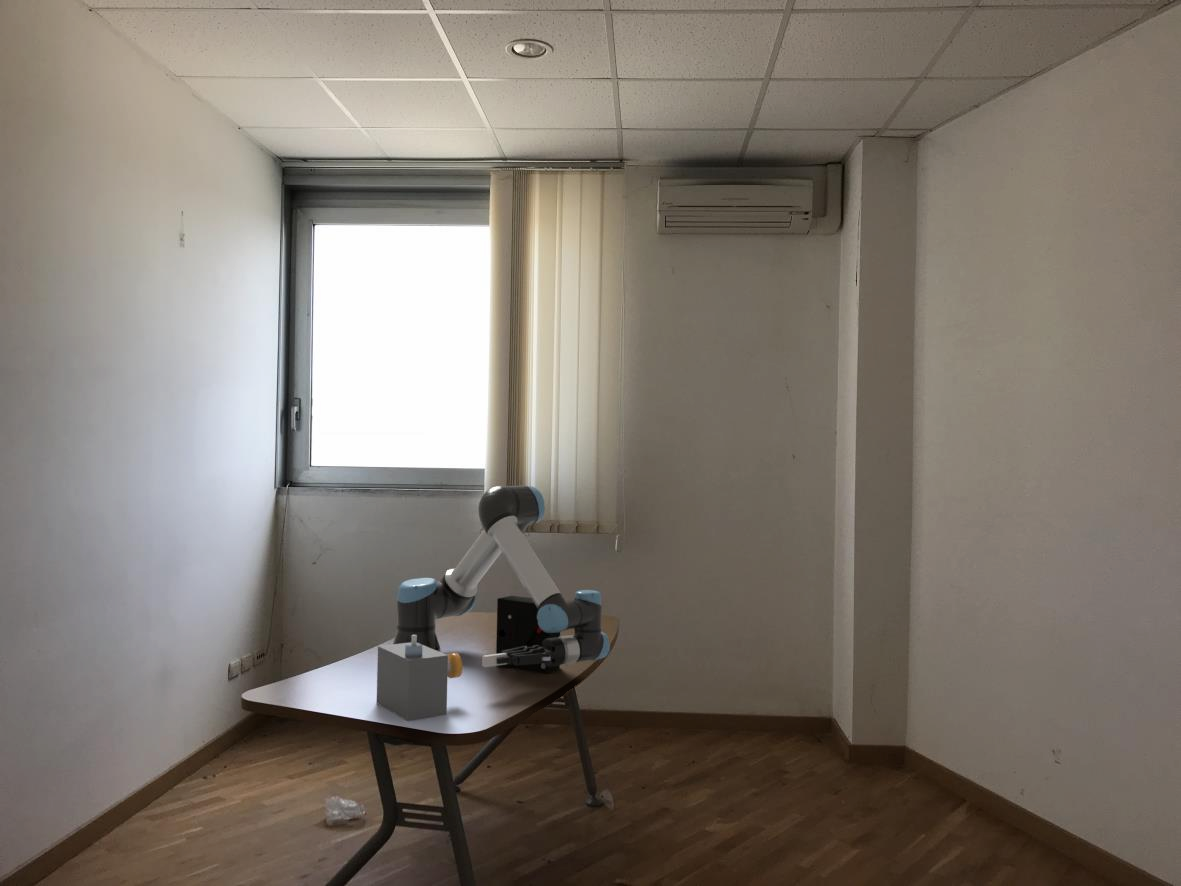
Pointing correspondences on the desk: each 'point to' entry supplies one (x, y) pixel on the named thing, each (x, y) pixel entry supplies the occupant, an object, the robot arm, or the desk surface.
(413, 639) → the knob
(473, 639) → the desk surface
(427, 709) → the housing
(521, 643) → the electrical component
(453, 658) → the knob
